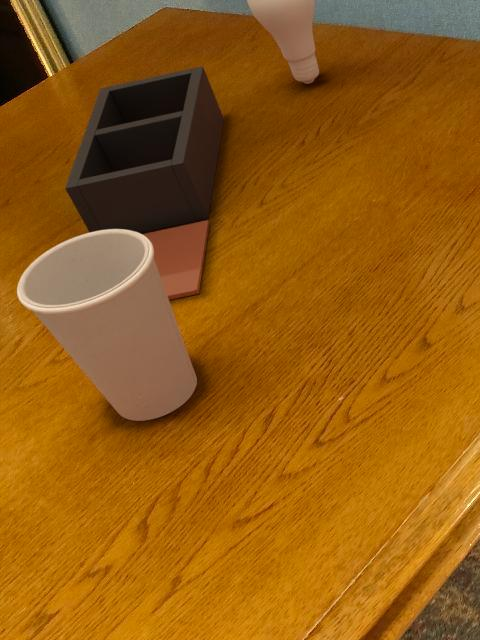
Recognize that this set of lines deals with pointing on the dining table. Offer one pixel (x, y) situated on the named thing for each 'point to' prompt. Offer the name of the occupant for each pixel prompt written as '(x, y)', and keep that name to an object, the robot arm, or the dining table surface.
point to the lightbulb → (291, 32)
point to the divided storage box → (148, 154)
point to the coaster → (180, 257)
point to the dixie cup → (113, 320)
